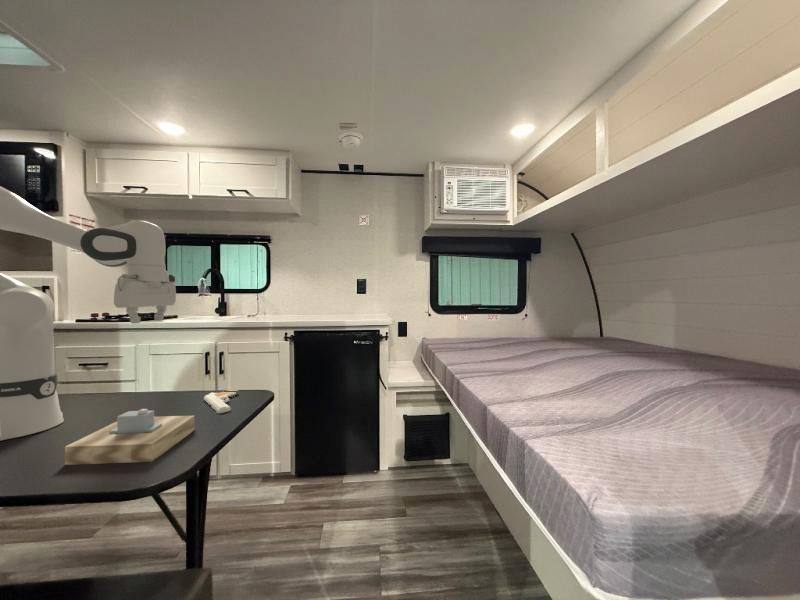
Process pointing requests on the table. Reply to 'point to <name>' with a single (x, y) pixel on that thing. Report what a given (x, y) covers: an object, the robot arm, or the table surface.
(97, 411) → the table surface
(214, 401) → the pistol
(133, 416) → the block
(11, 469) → the table surface
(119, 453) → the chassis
